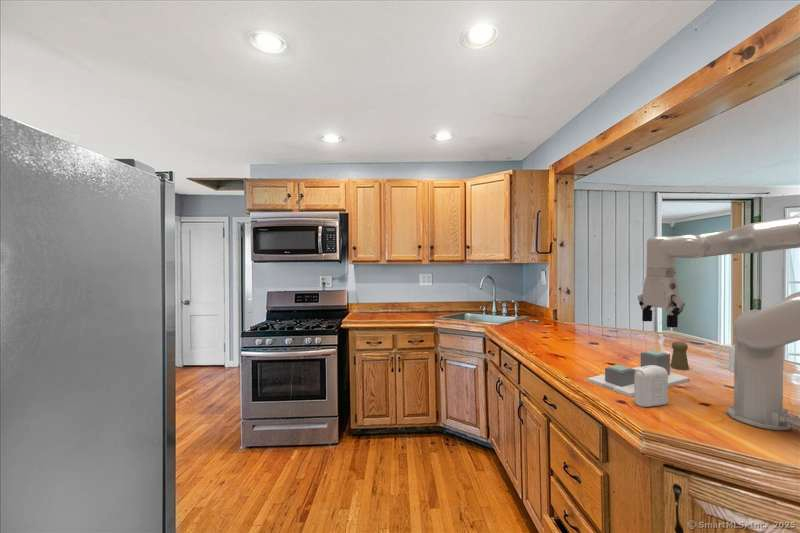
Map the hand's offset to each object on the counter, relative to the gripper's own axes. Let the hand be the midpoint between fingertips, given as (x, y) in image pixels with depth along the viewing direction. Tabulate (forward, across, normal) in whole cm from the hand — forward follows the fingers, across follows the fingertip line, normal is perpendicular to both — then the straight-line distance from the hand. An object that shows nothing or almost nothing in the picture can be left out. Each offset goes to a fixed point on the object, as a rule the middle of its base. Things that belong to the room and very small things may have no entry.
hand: (659, 324), depth 112 cm
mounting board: (+25, +13, -4) cm, 28 cm away
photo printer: (+25, -5, +7) cm, 26 cm away
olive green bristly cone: (+25, +25, -33) cm, 48 cm away
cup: (+25, +19, -52) cm, 61 cm away
